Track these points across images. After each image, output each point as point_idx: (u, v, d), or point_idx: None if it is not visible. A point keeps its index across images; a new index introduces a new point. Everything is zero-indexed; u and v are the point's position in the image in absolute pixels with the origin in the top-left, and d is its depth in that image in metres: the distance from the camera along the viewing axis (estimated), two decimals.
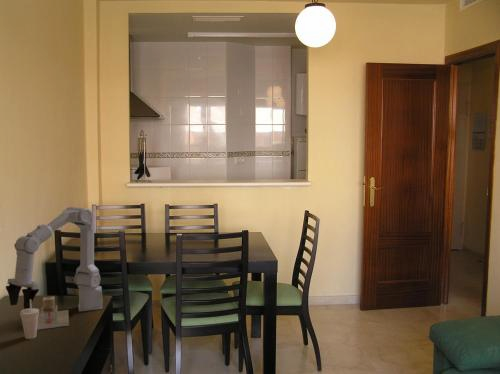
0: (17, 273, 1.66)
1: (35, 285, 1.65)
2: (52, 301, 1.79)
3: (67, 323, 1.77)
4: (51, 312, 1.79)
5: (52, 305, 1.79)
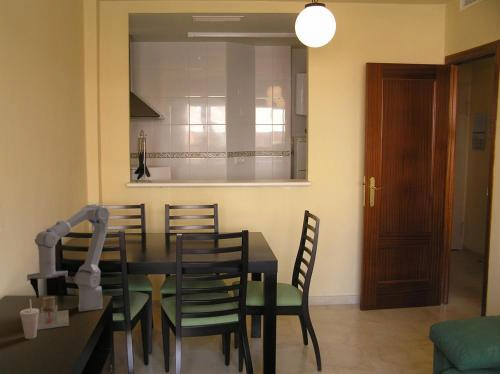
0: (47, 267, 1.77)
1: (67, 272, 1.82)
2: (52, 301, 1.79)
3: (67, 323, 1.77)
4: (51, 312, 1.79)
5: (52, 305, 1.79)
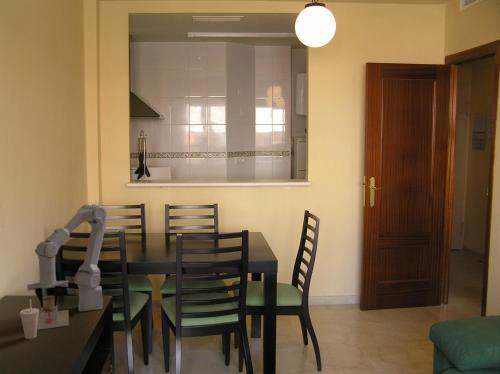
0: (48, 277, 1.77)
1: None
2: (52, 301, 1.79)
3: (67, 323, 1.77)
4: (51, 312, 1.79)
5: (52, 305, 1.79)
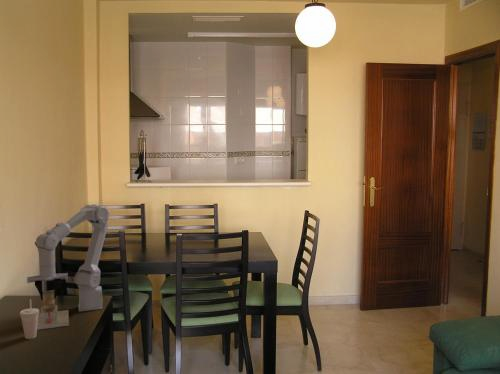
0: (48, 269, 1.77)
1: (67, 275, 1.82)
2: (52, 295, 1.79)
3: (67, 323, 1.77)
4: (51, 312, 1.79)
5: (52, 299, 1.79)
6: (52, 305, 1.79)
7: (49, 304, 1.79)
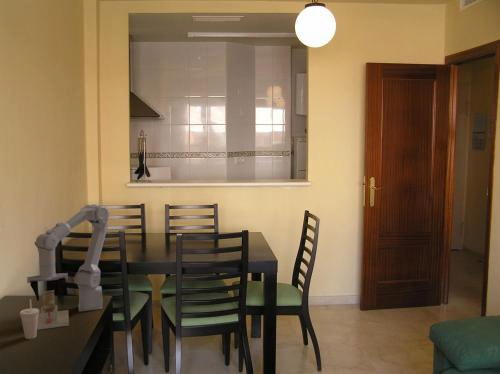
0: (48, 269, 1.77)
1: (67, 275, 1.82)
2: (52, 295, 1.79)
3: (67, 323, 1.77)
4: (51, 312, 1.79)
5: (52, 299, 1.79)
6: (52, 305, 1.79)
7: (49, 304, 1.79)
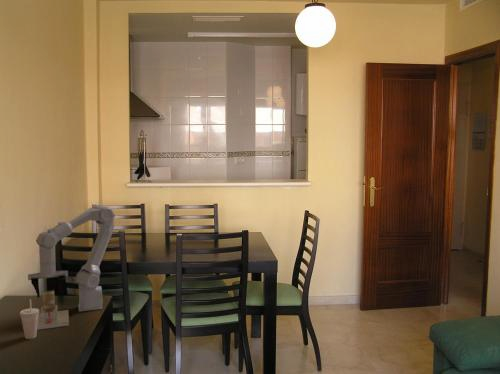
0: (48, 266, 1.81)
1: (67, 272, 1.86)
2: (52, 295, 1.79)
3: (67, 323, 1.77)
4: (51, 312, 1.79)
5: (52, 299, 1.79)
6: (52, 305, 1.79)
7: (49, 304, 1.79)
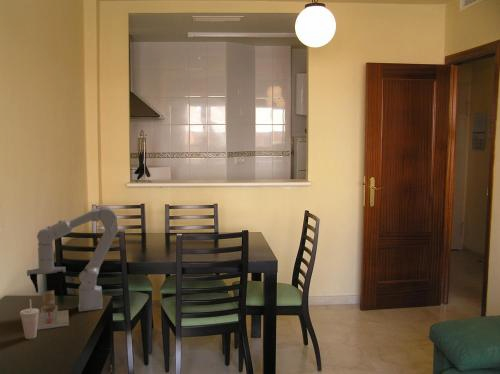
0: (46, 263, 1.86)
1: (65, 268, 1.91)
2: (52, 295, 1.79)
3: (67, 323, 1.77)
4: (51, 312, 1.79)
5: (52, 299, 1.79)
6: (52, 305, 1.79)
7: (49, 304, 1.79)
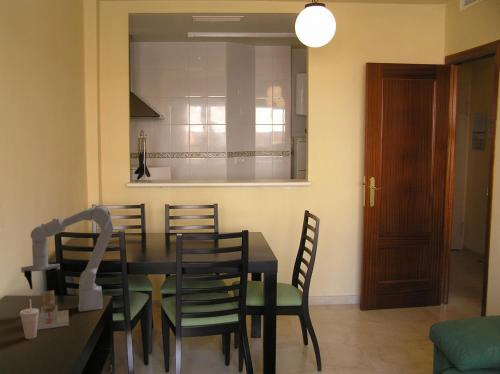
0: (40, 260, 1.88)
1: (59, 265, 1.93)
2: (52, 295, 1.79)
3: (67, 323, 1.77)
4: (51, 312, 1.79)
5: (52, 299, 1.79)
6: (52, 305, 1.79)
7: (49, 304, 1.79)
